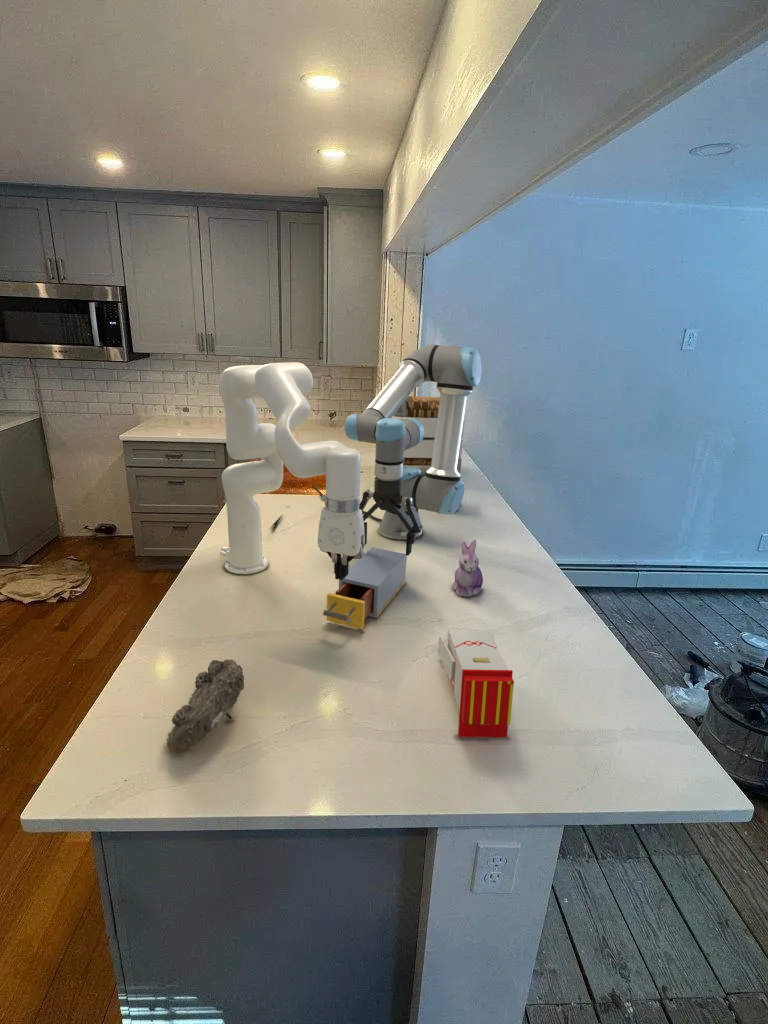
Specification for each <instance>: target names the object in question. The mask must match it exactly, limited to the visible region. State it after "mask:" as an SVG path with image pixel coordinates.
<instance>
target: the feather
mask: <svg viewBox="0 0 768 1024" xmlns="http://www.w3.org/2000/svg"><path fill="white" fill-rule="evenodd" d="M282 516H283V514H281V516H280V517H278V519H277V520H275V522H274V523H273V524H272V525H271V526H270V527H269V528H268V529H271V528H272V529H273V530H272V532H274V531H275V529H276V528H277V526H278V524H279V522H280V520H281V519H282Z"/></svg>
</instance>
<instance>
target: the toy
mask: <svg viewBox="0 0 768 1024" xmlns="http://www.w3.org/2000/svg"><path fill="white" fill-rule="evenodd" d="M446 640H447V643H446V641H445V639H444V636H443V635H442V634H439V637H438V646H437V656H438V657H439V659H440V661H441V663H442V666H443V668H444V670H445V672H446V674H447V677H448V679H449V681H450V684H451V687H452V690H453V693H454V697H455V701H456V705H457V708H458V711H459V714H458V715H459V716H458V730H457V731H458V732H457V737H458V738H508V731H509V726H510V725H511V717H512V707H513V697H514V696H513V695H514V684H515V680H514V679H513V673H514V671H513V670H512V669H508V667H507V665H506V662H505V661H504V659H503V658H502V655H501V653H500V651H499V649H498V647H497V643H496V639H495V637H494V635H493V634H491V632H490V631H489V629H467V628H466V629H465V628H463V629H461V628H460V629H459V628H448V630H447V639H446Z"/></svg>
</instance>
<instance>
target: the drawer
mask: <svg viewBox="0 0 768 1024" xmlns="http://www.w3.org/2000/svg"><path fill="white" fill-rule="evenodd" d="M373 608H374V589H372V588H368V587H364V586H359V585H355V584H350V583H346V582H345V583H344V584H343V585H342V586H341V587H340V588H339V587H338V588H337V590H336V591H335V592H334V593H332V592H328V593H327V594H326V609H324V610H323V611H322V615H323V616H325V617H326V621H327V622H328V621H329V622H333V623H337V624H341V625H345V626H349V627H352V628H356V629H360V630H363V629H364V627H365V620H366V619H367V618H368V617H369V616H368V615H369V614H370V613H371V612H372V610H373Z"/></svg>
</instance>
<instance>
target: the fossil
mask: <svg viewBox="0 0 768 1024" xmlns="http://www.w3.org/2000/svg"><path fill="white" fill-rule="evenodd" d="M243 670H244V669H243V667H242V665H240V664H237V662H236V661H235V660H234V659H232V658H231V659H227V658H226V659H224V660H223V661H222V660H217V659H212V660H211V661H210V663H209V665H208V666H207V671H201V672H199V673H198V674H197V675H196V676H195V680H194V684H195V685H194V687H195V689H194V690H193V693H192V694H191V697H190V698H189V700H188V704H184V705H182V706H181V707H180V709H177V710H176V711H175V713H174V715H173V716H172V718H171V723H172V724H173V727H172V730H171V731H170V732H168V734H167V738H166V741H167V742H166V745H167V749H168V750H169V751H173V752H174V753H176V754H178V753H182V752H188V751H189V752H192V751H193V750H195V748H196V747H197V746H199V744H200V743H201V742H203V741H204V740H205V739H206V738H207V737H208V736H209V735H210V734H211V733H212V732H214V730H215V729H217V727H218V726H219V724H220V722H221V721H222V720H223V719H224V718H225V716H226V717H227V719H229V720H233V717H232V715H230V714H229V710H230V709H231V708H234V706H235V704H236V703H237V702H238V699H239V697H240V695H241V693H242V691H243V690H245V689H244V688H245V675H244V671H243Z"/></svg>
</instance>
